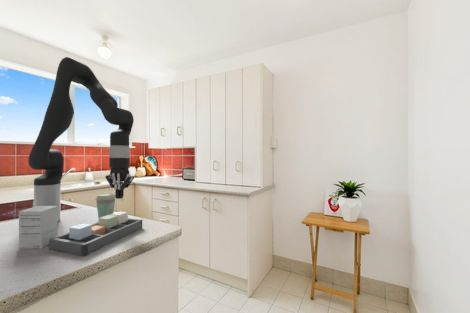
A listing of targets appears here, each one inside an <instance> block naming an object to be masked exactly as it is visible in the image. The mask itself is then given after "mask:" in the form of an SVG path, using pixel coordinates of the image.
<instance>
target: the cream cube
mask: <svg viewBox="0 0 470 313" xmlns="http://www.w3.org/2000/svg"><path fill="white" fill-rule="evenodd" d="M111 215H113V216H117V224H121V223H123V222H126V221H128V217H129V216H128V215H129V214H128V211H127V212H126V211H116V212H114V213H113V214H111Z"/></svg>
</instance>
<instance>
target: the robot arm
mask: <svg viewBox="0 0 470 313" xmlns="http://www.w3.org/2000/svg"><path fill="white" fill-rule="evenodd" d="M72 83H75V84H79V85H82V86H83V87H84V88H86V89H87V90H88V91H89V96H90V99H91V101H92V102H93V103H94V104H95V105H96V106H97V107H98V109H99V110H100V111H101V113H102V115H103V118H104V120H105V121H107V122H108V123H109V124H111V125H114V126H118V128H117V130H115V131H112V132H111V133H110V136H109V152H108V155H109V157H108V158H109V159H108V160H109V162H108V166H109V169H110V172H109V174H107V175H105V179H106V181H107V183H108V184H109V186H110V187H111V188H113V189H114V190H115V192H114V194H115V196H116V198H115V200H117V199H118V200H120V199H123V198H124V195H125V194H124V190H125V189H127V188H128V187H129V186H130V185H131V183H132V182H133V180H134V179H135V176H133V175H131V174H130V170H129V169H130V167H131V165H130V164H131V149H130V135H131V132H132V128H133V125H134V115H133V113H132V112H131V111H130V110H128V109H124V108H120V107H118V105H119V104H118V102H117V100H116V99H115V98H114V97H113V96H112V95H111V93H109V92H108V91H107V89H105V88H104V86H103V85H102V83H101V82H100V80H99V78H97V76H96V75H95V73H94V71H92V69H91V68H90V67H89V66H88V65H87V64H85V63H82V62H80V61H79V60H77V59H74V58H72V57H69V56H66V57H63V58H62V59H61V61H60V62H59V64H58V67H57V70H56V74H55V81H54V85H53V88H52V89H53V90H52V93H51V97H50V99H49V102H48V106H47V108H46V111H45V114H44V118H43V121H42V124H41V128H40V130H39V132H38V135H37V138H36V140H35V142H34V144H33V145H32V148H31V151H30V153H29V154H28V155H29V156H28V166H29V168H31V169H32V170H36V171H40V170H42V171H43V170H44V172H43V174H41V175H40V176H38V177H36V178H34V179H33V201H32V207H35V206H57V222H58V221H60V220H61V210H62V209H61V206H62V205H61V203H62V202H61V200H62V198H61V197H62V196H61V194H62V192H61V189H62V188H61V181H62V179H63V174H64V156H63V155H64V154H63V153H62V152H61V151H60V150H59V149H51V148H52V146H53V144H54V143H55V141H56V140H57V139H58V138H59V137H60V136H62V135H63V134H64V133H65V132H66V131H67V130H68V129H69V128H70V127H71V124H72V121H73V119H74V118H73V117H74V116H75V110H74V105H73V103H72V99H71V96H70V88H71V84H72Z"/></svg>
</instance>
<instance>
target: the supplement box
mask: <svg viewBox="0 0 470 313" xmlns="http://www.w3.org/2000/svg"><path fill="white" fill-rule="evenodd" d="M56 236H59V235H58V221H57V206H35V207H33V206H32V207H30V208H26V209H22V210H19V211H18V249H21V250H22V249H23V250H24V249H25V250H26V249H27V250H28V249H29V250H30V249H43V248H46V246H49V239H51V238H53V237H56Z"/></svg>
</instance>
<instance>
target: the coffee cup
mask: <svg viewBox="0 0 470 313" xmlns="http://www.w3.org/2000/svg"><path fill="white" fill-rule="evenodd" d="M115 195H116V193H115V192H105V193H100V194H97V195H96V197H95V200H96V209H97V210H96V211H97V216H98V217H97V218H98V219H99V218H100V217H104V216H107V215H111V214H113V213H115V211H114V210H115V206H116V205H115V204H116V196H115Z"/></svg>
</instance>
